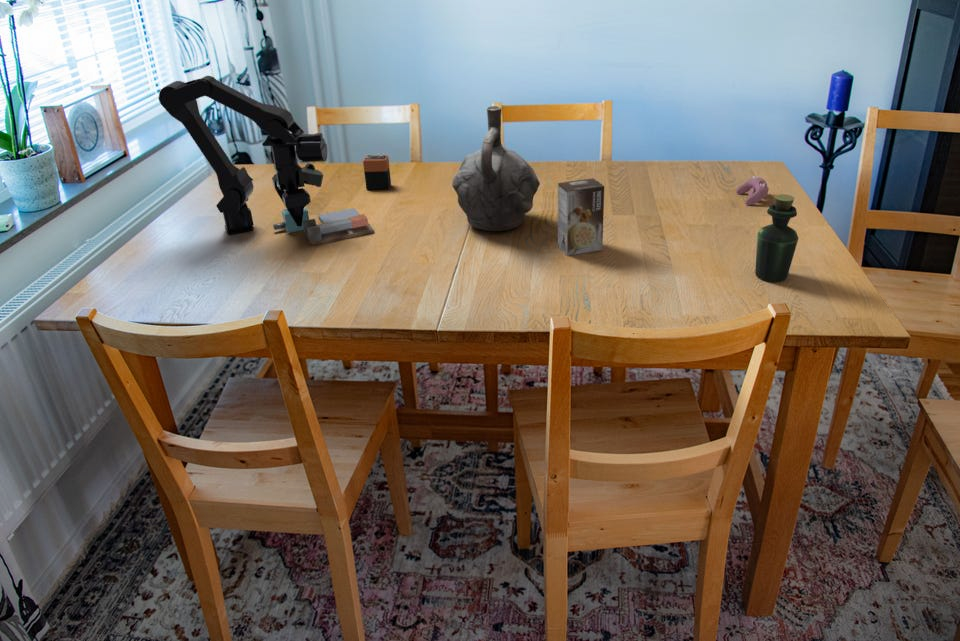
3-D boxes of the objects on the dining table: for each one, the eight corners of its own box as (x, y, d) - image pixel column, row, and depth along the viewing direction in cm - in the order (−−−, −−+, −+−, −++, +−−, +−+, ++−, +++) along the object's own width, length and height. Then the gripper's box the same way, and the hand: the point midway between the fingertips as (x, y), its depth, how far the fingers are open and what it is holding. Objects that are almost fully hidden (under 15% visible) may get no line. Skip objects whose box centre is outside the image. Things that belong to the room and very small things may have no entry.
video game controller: (759, 211, 198) (774, 188, 195) (744, 204, 197) (760, 181, 194) (747, 198, 207) (762, 175, 204) (733, 191, 206) (748, 169, 203)
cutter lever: (311, 236, 187) (310, 230, 186) (309, 232, 189) (307, 225, 188) (368, 224, 192) (367, 218, 191) (364, 220, 194) (363, 214, 193)
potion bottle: (744, 276, 163) (756, 198, 154) (762, 264, 168) (775, 187, 159) (779, 288, 158) (794, 207, 149) (797, 275, 163) (812, 196, 154)
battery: (389, 190, 219) (385, 156, 214) (366, 190, 219) (362, 157, 214) (391, 184, 223) (388, 152, 218) (368, 185, 223) (365, 152, 218)
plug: (276, 235, 193) (272, 217, 190) (273, 230, 196) (269, 212, 194) (310, 228, 196) (307, 210, 193) (307, 223, 199) (304, 205, 197)
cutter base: (310, 245, 186) (307, 229, 184) (305, 237, 191) (302, 220, 189) (374, 232, 192) (372, 216, 189) (367, 224, 196) (365, 209, 194)
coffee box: (592, 240, 182) (594, 177, 174) (602, 250, 177) (606, 186, 169) (556, 246, 181) (557, 182, 172) (566, 256, 175) (567, 191, 167)
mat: (327, 231, 194) (326, 227, 193) (318, 218, 202) (318, 214, 201) (364, 223, 197) (364, 220, 197) (354, 211, 205) (354, 207, 205)
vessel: (548, 241, 183) (549, 118, 168) (458, 248, 181) (452, 124, 166) (532, 205, 204) (531, 93, 189) (451, 211, 202) (445, 98, 187)
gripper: (326, 167, 183) (335, 226, 191) (309, 147, 198) (318, 203, 205) (280, 174, 179) (291, 235, 187) (267, 153, 194) (277, 210, 202)
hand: (296, 220), depth 195 cm, fingers open, 9 cm apart
